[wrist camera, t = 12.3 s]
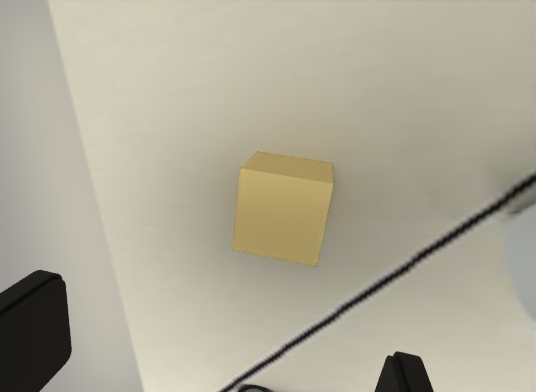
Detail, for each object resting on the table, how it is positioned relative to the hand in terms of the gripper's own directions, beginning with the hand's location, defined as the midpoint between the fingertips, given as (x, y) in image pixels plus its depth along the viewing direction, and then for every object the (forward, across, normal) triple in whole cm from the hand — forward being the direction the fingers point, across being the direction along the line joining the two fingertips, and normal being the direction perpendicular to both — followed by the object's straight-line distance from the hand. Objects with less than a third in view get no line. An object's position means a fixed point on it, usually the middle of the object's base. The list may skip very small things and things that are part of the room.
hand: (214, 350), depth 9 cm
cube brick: (+19, 0, +1) cm, 19 cm away
